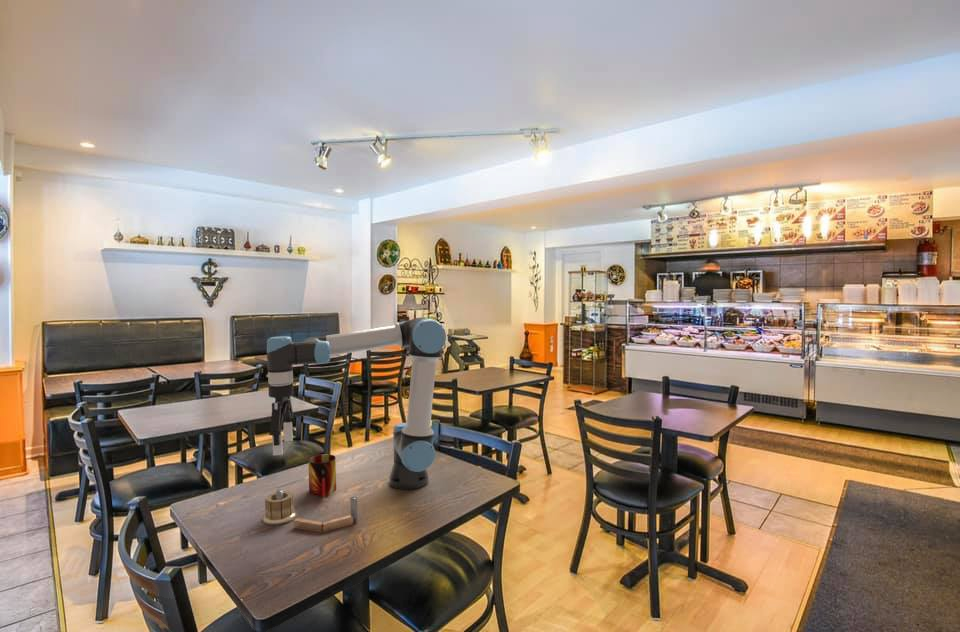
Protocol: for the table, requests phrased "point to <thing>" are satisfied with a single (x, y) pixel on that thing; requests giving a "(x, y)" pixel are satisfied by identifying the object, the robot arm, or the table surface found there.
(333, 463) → the mug
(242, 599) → the table surface
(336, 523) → the bent hammer
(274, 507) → the oak ring
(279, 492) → the peg stand
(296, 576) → the table surface
